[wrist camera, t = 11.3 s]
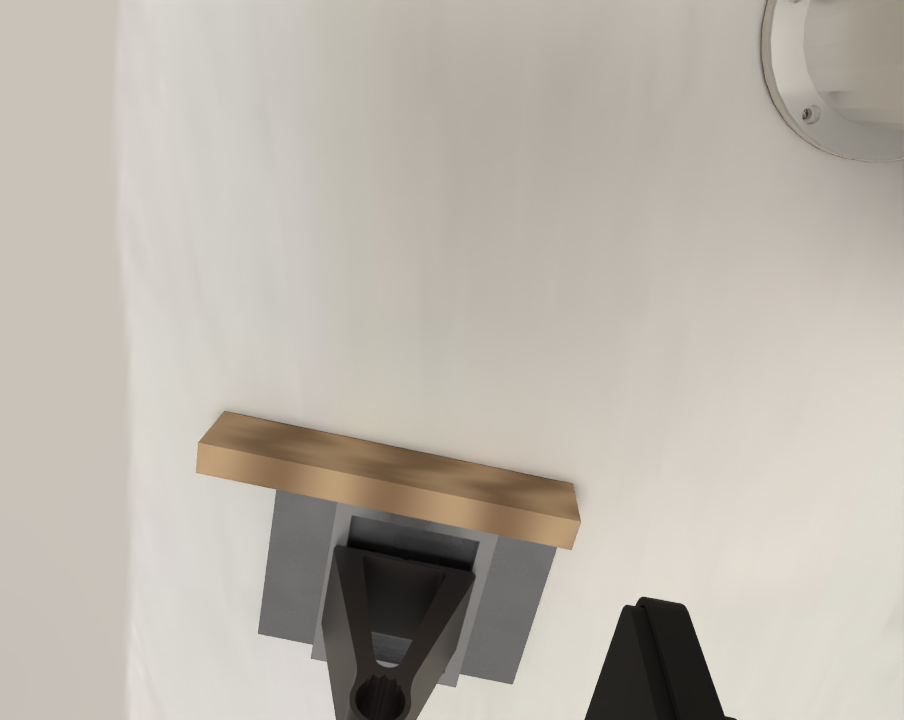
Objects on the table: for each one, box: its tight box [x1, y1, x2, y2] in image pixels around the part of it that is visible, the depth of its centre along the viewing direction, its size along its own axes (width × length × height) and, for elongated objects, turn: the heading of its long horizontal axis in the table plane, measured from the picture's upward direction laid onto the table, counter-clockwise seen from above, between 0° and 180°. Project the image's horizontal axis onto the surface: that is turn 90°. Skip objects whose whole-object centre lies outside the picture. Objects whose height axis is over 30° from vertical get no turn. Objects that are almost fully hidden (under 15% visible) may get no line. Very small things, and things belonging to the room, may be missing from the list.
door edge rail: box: [196, 411, 581, 550], centre depth 40 cm, size 22×2×4 cm, turn 78°
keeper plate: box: [258, 490, 557, 687], centre depth 44 cm, size 18×13×2 cm
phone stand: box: [321, 545, 476, 720], centre depth 38 cm, size 9×6×12 cm, turn 78°
